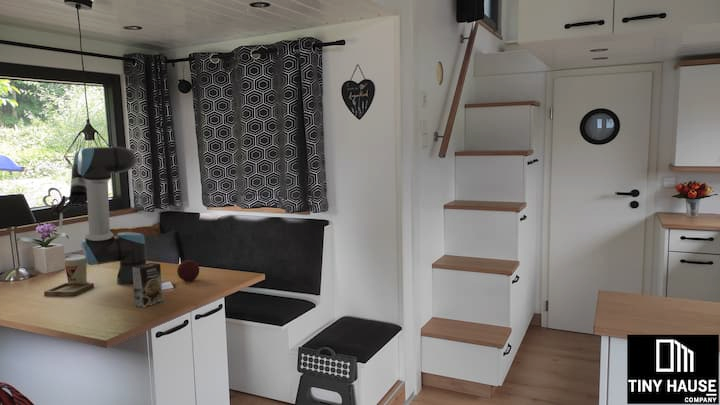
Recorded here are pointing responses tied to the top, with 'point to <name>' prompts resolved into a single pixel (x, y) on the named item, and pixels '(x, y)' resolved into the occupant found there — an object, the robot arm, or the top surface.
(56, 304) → the top surface
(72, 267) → the coffee cup
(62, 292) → the coaster tray
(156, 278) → the coffee box
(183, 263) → the decorative ball
